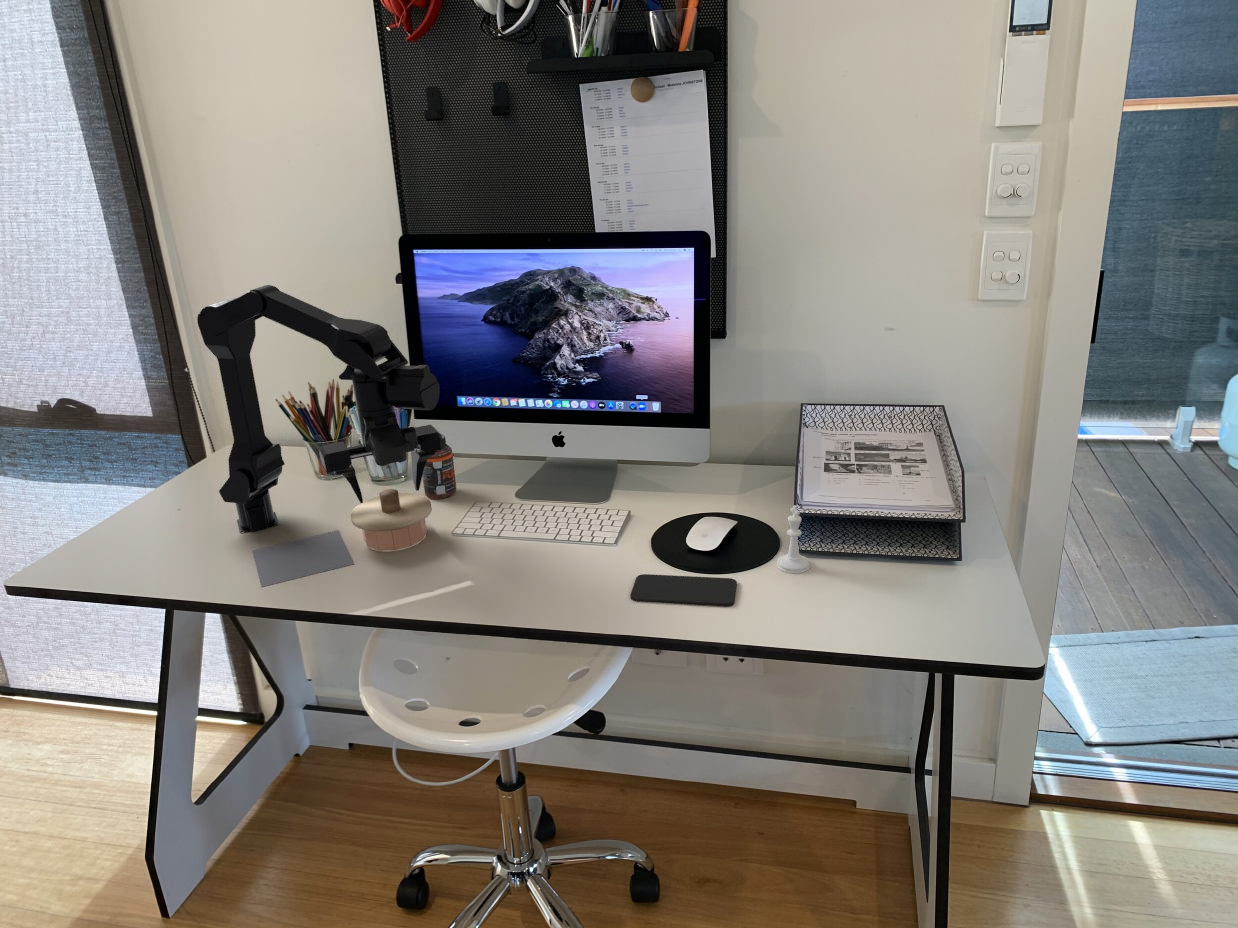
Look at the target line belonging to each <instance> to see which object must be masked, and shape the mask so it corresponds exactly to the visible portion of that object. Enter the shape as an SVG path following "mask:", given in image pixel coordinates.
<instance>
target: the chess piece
mask: <svg viewBox="0 0 1238 928" xmlns="http://www.w3.org/2000/svg"><path fill="white" fill-rule="evenodd" d="M789 511H790V512H791V513H792V515H789V516H788V517H787V521H788V523H789V527H790V528H789V529H787V531H786V534H787V535H788V536H790V539H789V540H790V541H789V547H788V552H787V553H786V554H783V555H781V556H779V558H778V559H777V563H776V567H777V568H778V570H780V571H782V572H784V573H786V574H787V573H788V574H801V573H804V572H807V571H808V570H809V569H811V568H810V567H811V564H810V560H809V559H808V558H807V557H806V556H804V555H801V554H800V551H799V550H800V549H799V541H798V540H799V539H798V537H800V536H801V535H802V530H800V529H799V527H800V524H801V522H802V517H801V516H800V514H801V512H800V510H798V506H797V504H796V505H795V504H794V505H793V506H792V507H790V509H789Z"/></svg>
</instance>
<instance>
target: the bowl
mask: <svg viewBox="0 0 1238 928" xmlns="http://www.w3.org/2000/svg"><path fill="white" fill-rule="evenodd" d="M361 530H362V531H361V532H362V538H363V541H364V544H365V546H366V547H367V548H368V549H370V550H372V551H376V552H384V553H385V552H397V551H402V550H406V549H409V548H412V547H414V546H416V545H418V544H419V543H421V542H422V541H424V539H425V538H426V536H427V533H428V531H427V523H426V518H425V519H424V520H422V521H421V522H419V523H417V524H414V525H412V526H409V527H405V528H402V529H397V530H391V531H368V530H363V529H361Z"/></svg>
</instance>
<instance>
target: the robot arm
mask: <svg viewBox="0 0 1238 928" xmlns="http://www.w3.org/2000/svg"><path fill="white" fill-rule="evenodd" d="M262 317H264V318H266V319H268V320H271V321H273V322H275V323H276V324H279V325H282V326H283V327H286V328H288V329H290V330H293V331H294V332H297V333H300V334H301V335H303V336H304V337H305V336H306V337H308V338H310V339H312V340H314V341H317V342H319V343H321V344H322V345H323V346H326V347H327V348H328V350H329V351H330V353H331V354H332V355H333V356H334V357H335V358H337V359H338V360H339V361H340V362H342V363H344V364H346V367H345V369H344V370H343V371H342V372H341V374H339V375H338V379H339V380H341V381H351V383H352V388H353V394H354V399H355V405H356V412H357V418H358V419H357V420H358V424H359V430H360V435H361V441H362V442H361V443H362V444H360V445H354V446H349V447H348V446H347V445H346V443H345V442H344V441H337V442H334V443H333V442H332V443H329V444H324V445H323V444H322V445H321V446H320V448H319V450H318V452H319V458H320V462H321V464H322V466H323V468H324V470H325V471H326V473H334V475H336V476H343V477H344V478H345V479H346V481H347V482H348V483H349V485H350V486H351V488H352V491H353V493H354V494H355V496H356V498H357V500H358V501H359V504H361V503H363V502H364V499H363V494H362V491H361V490H362V489H361V488H360V485H359V481H358V479H357V478H358V477H357V473H356V471H355V467H354V466H353V465H352V460H354V459H358V458H364V457H369V456H372V457H373V459H374V462H375V465H377V466H378V467H385V466H387V465H389V464H395V463H403V462H405V461H406V460H407V459H408V455H407V454H408V453H410V457H411V459H410V460H411V469H412V480H413V484H414V489H415V491H417V492H419V491H420V489H421V488H420V487H421V483H422V480H423V476H422V475H423V471H424V467H425V465H426V462H427V460H428V459H429V458H430V457H431V456H433V455H435V454H436V451H437V450H441V449H443V448H444V446H443V439H442V436H441V434H442V433H441V432H439V430H438V429H437V428H436V427H435V426H433V425H432V424H426V425H421V426H417V427H416V426H415V427H414V426H409V427H400V425H399V422H398V420H397V414H396V410H395V409H405V410H421V411H422V410H423V411H432V410H434V409H435V408H436V406H437V404H438V403H439V398H440V393H441V390H440V383H439V382H438V380H437V377H436V375H434V373H431V371H430V370H431V368H430V365H428V364H420V365H408V364H409V361H408V359H407V358H406V357H405V356H404V353H402V351H400V349H399V348H398V347H397V346H396V344H395V343H394V342H393V340H391V338H390V335H389V334H388V331H387V329H386V328H385V327H384V326H382V325H381V324H378V323H373V322H370V321H366V320H363V319H353V318H345V317H344V318H343V317H340V316H336V315H335V314H332V313H330V312H327V311H326V310H324V309H321V308H319V307H317V306H314V305H313V304H310V303H308V302H305V301H304V300H301V299H299V298H297V297H295V296H293V295H290V294H288V293H286V292H283V291H282V290H280V289H279V288H278V287H277V286H274V285H271V284H265V285H262V286H258V287H255V288H252V289H249V290H248V291H246V293H244V294H242V295H241V296H238V297H236V298H235V297H234V298H230V299H226V300H223V301H220V302H216V303H214V304H211V305H207V306H204V307H203V308H202V309H201V310H200V312H199V313H198V314H197V318H196V321H197V326H198V330H199V331H200V334H201V335H200V336H201V337H202V341H203V343H204V345H205V346H206V348H207V349H208V350H209V351H210V352H211V353H212V354H213V356H214V357H216V359H217V362H218V368H219V372H220V376H221V377H220V378H221V382H222V387H223V391H224V398H225V401H226V408H227V412H228V418H229V422H230V427H231V432H232V437H233V438H232V439H233V444H232V446H231V449H230V450H231V451H230V454H229V456H228V459H227V460H228V476H229V477H228V478H227V480H226V481H225V482H224V483H223V485H222V487H220V489H219V490H218V493H219V494H220V497H221V498H222V500H223V501H224V503H230V504H231V503H233V504H235V508H236V511H237V515H238V519H237V520H236V522H237V523H236V524H237V528H238V531H239V534H242V535H243V534H247V533H251V532H258V531H261V530H265V529H269V528H274V527H278V526H279V525H280V523H279V519H278V517H277V514H276V512H275V511H274V508H273V505H272V504H273V503H272V500H271V494H270V491H269V490H270V489H272V488H273V487H276V486H277V485H278V483H279V477H280V475H281V474H282V473H283V466H285V465H286V463H285V461H284V459H283V456H282V447H281V445H280V443H273V442H272V441H271V440H270V439H269V438H268V437H267V436H266V433H265V430H264V429H265V428H264V423H263V418H262V412H261V407H260V401H259V396H258V395H259V394H258V390H257V385H256V382H255V381H256V380H255V375H254V369H253V365H252V358H251V352H252V348H253V346H254V342H255V338H256V336H257V335H256V321H257V320H258V319H261V318H262ZM383 359H386V360H385V361H384V362H383V361H382V360H383ZM380 361H382V362H381V363H379V364H377V362H380Z"/></svg>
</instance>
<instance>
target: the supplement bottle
mask: <svg viewBox="0 0 1238 928" xmlns="http://www.w3.org/2000/svg"><path fill="white" fill-rule="evenodd" d="M440 434H441V436H442V439H443V446H444V448H443V449H441V450H437V451H436V454H435V455H433V456H431V457H430V458H429V459H428V460H427V462H426V465H425V467H424V471H423V475H422V483H423V490H424V494H425V495H424V496H425V497H426V498H428V499H429V498H430V499H434V500H440V499H441V500H442V499H446V498H449V497H451V496H454V494H456V492H457V482H456V474H455V464H454V455H453V449H452V447H451V446H449V445H448V443H446V442H447V441H446V435H444V434H442V433H440Z"/></svg>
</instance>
